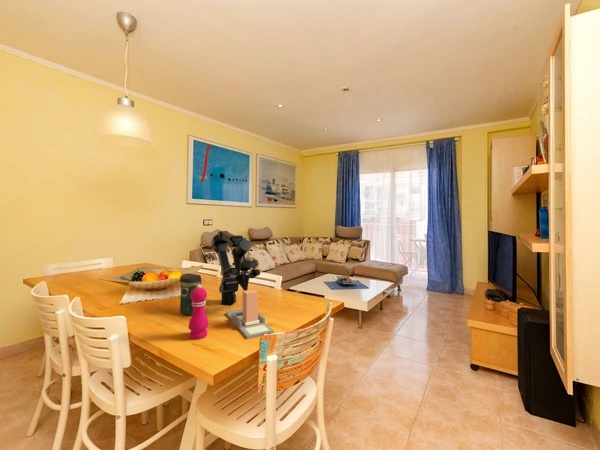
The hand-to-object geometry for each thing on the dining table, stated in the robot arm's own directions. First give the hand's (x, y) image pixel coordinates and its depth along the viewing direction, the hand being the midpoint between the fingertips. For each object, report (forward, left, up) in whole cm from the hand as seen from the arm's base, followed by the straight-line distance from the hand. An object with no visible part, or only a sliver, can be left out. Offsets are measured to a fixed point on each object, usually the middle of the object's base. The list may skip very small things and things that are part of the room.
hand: (246, 290), depth 125 cm
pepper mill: (-10, -23, -12) cm, 28 cm away
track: (+4, -6, -12) cm, 14 cm away
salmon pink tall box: (+6, -9, -11) cm, 15 cm away
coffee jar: (-28, -1, -12) cm, 30 cm away
